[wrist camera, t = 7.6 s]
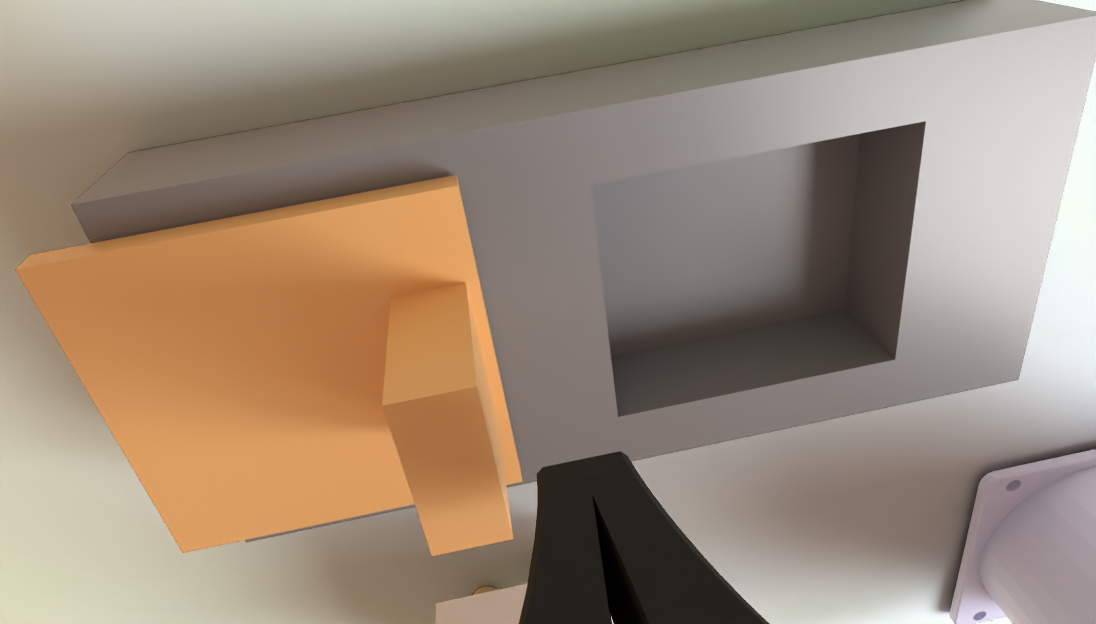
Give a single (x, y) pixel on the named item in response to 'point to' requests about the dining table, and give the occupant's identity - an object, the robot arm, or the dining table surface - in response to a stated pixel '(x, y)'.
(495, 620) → the beige rectangular block
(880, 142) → the grey recessed box
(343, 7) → the dining table surface
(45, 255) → the shutter
